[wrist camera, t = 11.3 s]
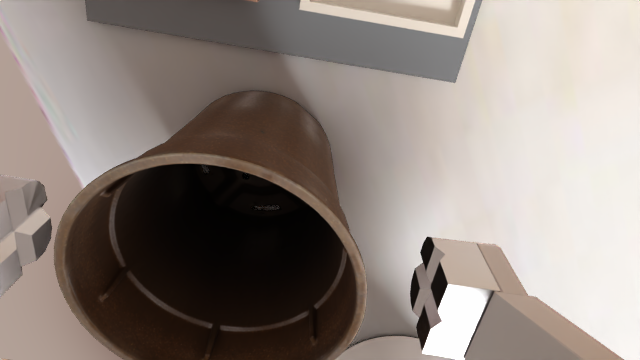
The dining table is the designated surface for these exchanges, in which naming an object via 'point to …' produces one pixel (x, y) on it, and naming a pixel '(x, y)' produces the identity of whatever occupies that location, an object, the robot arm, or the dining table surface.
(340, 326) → the plant pot
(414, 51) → the slate mat
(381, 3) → the cream tray
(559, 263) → the dining table surface
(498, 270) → the robot arm
